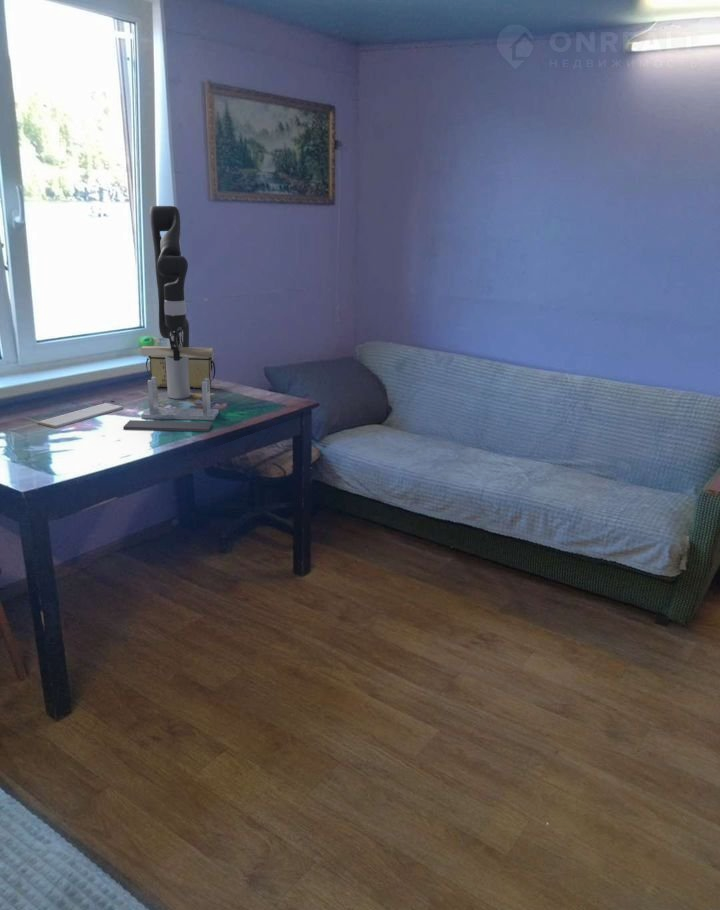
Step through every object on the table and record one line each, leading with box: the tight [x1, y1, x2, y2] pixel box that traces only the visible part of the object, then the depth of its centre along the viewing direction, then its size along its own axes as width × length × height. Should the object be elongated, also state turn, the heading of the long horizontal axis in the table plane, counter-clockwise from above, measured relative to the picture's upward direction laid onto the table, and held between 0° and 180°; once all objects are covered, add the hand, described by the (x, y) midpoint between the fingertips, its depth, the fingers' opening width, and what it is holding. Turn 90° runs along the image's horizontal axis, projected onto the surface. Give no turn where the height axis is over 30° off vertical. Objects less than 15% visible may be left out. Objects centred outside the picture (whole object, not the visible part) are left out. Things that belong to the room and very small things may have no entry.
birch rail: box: [140, 345, 215, 359], centre depth 259 cm, size 3×26×3 cm, turn 91°
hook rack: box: [140, 377, 219, 421], centre depth 265 cm, size 10×27×14 cm, turn 91°
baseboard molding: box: [35, 399, 124, 429], centre depth 263 cm, size 31×3×12 cm
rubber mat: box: [123, 419, 213, 433], centre depth 253 cm, size 8×30×1 cm, turn 91°
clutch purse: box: [145, 356, 216, 389], centre depth 307 cm, size 30×7×15 cm, turn 92°
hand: (178, 359), depth 260 cm, fingers closed on birch rail, 3 cm apart
